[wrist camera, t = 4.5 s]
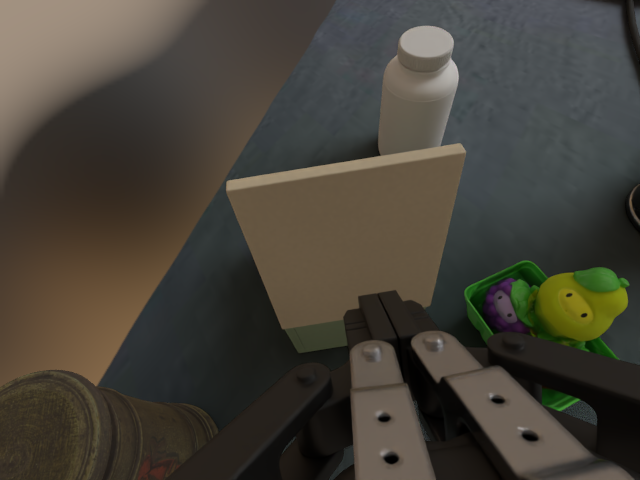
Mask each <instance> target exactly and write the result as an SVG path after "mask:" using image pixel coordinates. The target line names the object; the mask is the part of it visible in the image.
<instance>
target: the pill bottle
mask: <svg viewBox="0 0 640 480" xmlns="http://www.w3.org/2000/svg"><path fill="white" fill-rule="evenodd" d="M453 46H454V41H453V38H452V36H451V35H450V34H449V33H448V32H447V31H445V30H443V29H441V28H438V27H434V26H419V27H415V28H412V29H410V30H408V31H406V32H405V33H404V34H403V35H402V36H401V37H400V39H399V43H398V53H397V56H395V57H394V58H393V59H392V60H391V61H390V62H389V64H388V65H387V67H386V70H385V72H384V77H383V87H382V100H381V112H380V125H379V137H378V148H379V152H380V155H381V156H384V155H390V154H396V153H403V152H409V151H415V150H421V149H427V148H433V147H440V145H441V141H442V138H443V134H444V131H445V127H446V124H447V120H448V117H449V113H450V110H451V106H452V103H453V99H454V96H455V92H456V89H457V85H458V80H459V77H458V70H457V67H456V65H455V63H454V62H453V61H452V59H451V54H452V50H453Z"/></svg>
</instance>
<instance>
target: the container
mask: <svg viewBox="0 0 640 480" xmlns="http://www.w3.org/2000/svg"><path fill="white" fill-rule="evenodd" d="M218 432H219V430H218V428H217V426H216V424H215V422H214V421H213V420H212V418H211V417H210V416H209V415H208V414H207V413H206V412H205V411H203V410H202V409H200V408H198V407H196V406H193V405H190V404H183V403H163V402H149V401H144V400H140V399H137V398H133V397H130V396H126V395H122V394H121V393H119V392H117V391H115V390H113V389H110V388H106V387H96V386H95V385H94V384H93V383H91V382H90V381H89V380H87V379H86V378H84V377H83V376H81V375H78V374H76V373H73V372H69V371H63V370H47V371H40V372H35V373H31V374H28V375H25V376H22V377H19V378H17V379H15V380H13V381H11V382H9V383H7V384H5V385H3V386H2V387H0V480H164V479H166V478H167V477H168V476H169V475H170V474H171V473H173V472H174V471H175V470H176V469H177V468H178V467H179V466H181V465H182V464H183V463H184V462H185V461H186V460H187V459H189V458H190V457H191V456H192V455H193V454H194V453H195V452H197V451H198V450H199V449H200V448H201V447H202V446H203V445H205V444H206V443H207V442H208V441H209V440H210V439H212V438H213V437H214V436H215V435H216V434H217V433H218Z"/></svg>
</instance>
